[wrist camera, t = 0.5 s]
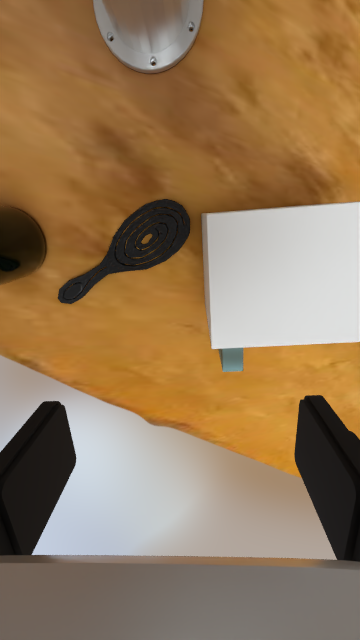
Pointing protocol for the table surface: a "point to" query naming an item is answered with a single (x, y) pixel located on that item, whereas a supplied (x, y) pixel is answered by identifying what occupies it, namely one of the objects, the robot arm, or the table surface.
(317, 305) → the cabinet
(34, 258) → the dark green wine bottle
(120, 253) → the hairbrush
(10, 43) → the table surface
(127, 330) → the table surface
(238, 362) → the mallet
